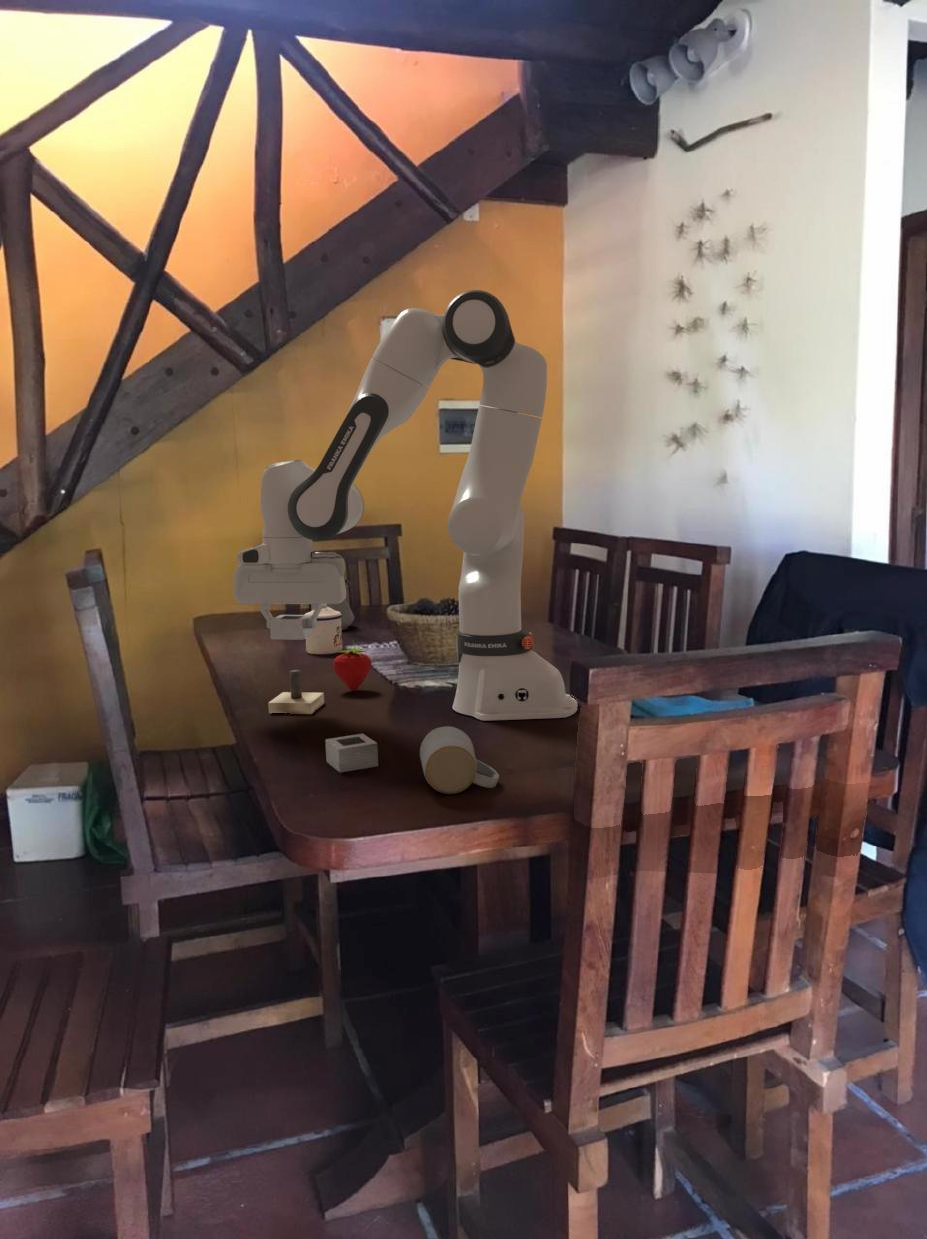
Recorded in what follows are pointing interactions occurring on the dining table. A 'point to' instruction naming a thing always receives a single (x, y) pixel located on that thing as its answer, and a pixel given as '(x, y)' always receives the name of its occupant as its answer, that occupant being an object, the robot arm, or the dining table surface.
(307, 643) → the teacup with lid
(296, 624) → the end link
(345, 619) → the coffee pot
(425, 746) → the ceramic mug
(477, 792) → the dining table surface
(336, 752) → the white square box
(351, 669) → the strawberry
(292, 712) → the block
